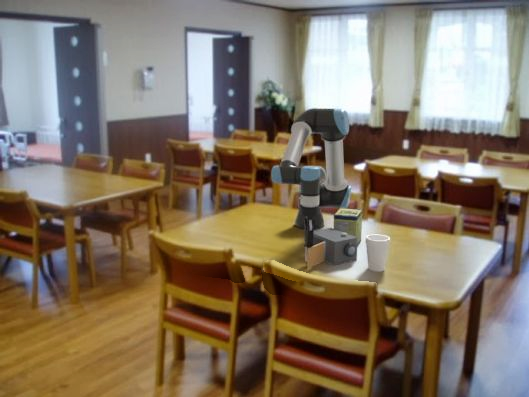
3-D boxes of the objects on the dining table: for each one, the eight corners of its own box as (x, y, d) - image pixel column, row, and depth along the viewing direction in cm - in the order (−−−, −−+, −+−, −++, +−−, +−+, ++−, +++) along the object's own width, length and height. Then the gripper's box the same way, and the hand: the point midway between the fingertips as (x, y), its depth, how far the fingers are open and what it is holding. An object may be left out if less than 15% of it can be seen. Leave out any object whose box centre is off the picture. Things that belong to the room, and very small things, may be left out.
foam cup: (362, 265, 221) (363, 234, 218) (384, 264, 222) (385, 234, 219) (368, 273, 212) (369, 241, 209) (391, 272, 213) (393, 240, 210)
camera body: (329, 249, 242) (330, 225, 239) (359, 261, 225) (360, 236, 223) (307, 253, 235) (308, 229, 233) (337, 266, 219) (337, 240, 216)
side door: (306, 267, 215) (307, 248, 214) (323, 259, 225) (323, 241, 223) (309, 268, 215) (309, 248, 213) (325, 260, 224) (326, 241, 222)
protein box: (361, 241, 254) (362, 209, 250) (355, 250, 239) (356, 217, 236) (339, 239, 257) (340, 207, 254) (332, 248, 243) (333, 215, 239)
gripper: (298, 201, 221) (297, 255, 226) (301, 209, 209) (300, 266, 214) (317, 201, 221) (315, 255, 227) (321, 208, 209) (319, 266, 214)
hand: (308, 260), depth 220 cm, fingers closed
